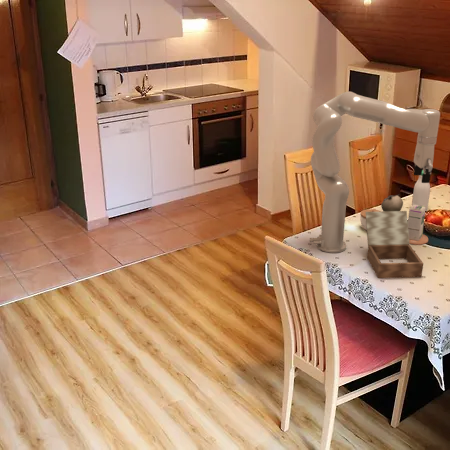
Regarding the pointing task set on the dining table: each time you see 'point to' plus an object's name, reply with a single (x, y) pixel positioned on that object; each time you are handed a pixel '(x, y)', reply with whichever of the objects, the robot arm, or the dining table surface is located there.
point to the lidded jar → (363, 216)
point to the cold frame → (391, 245)
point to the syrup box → (416, 222)
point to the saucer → (422, 241)
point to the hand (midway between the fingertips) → (421, 178)
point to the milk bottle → (421, 193)
